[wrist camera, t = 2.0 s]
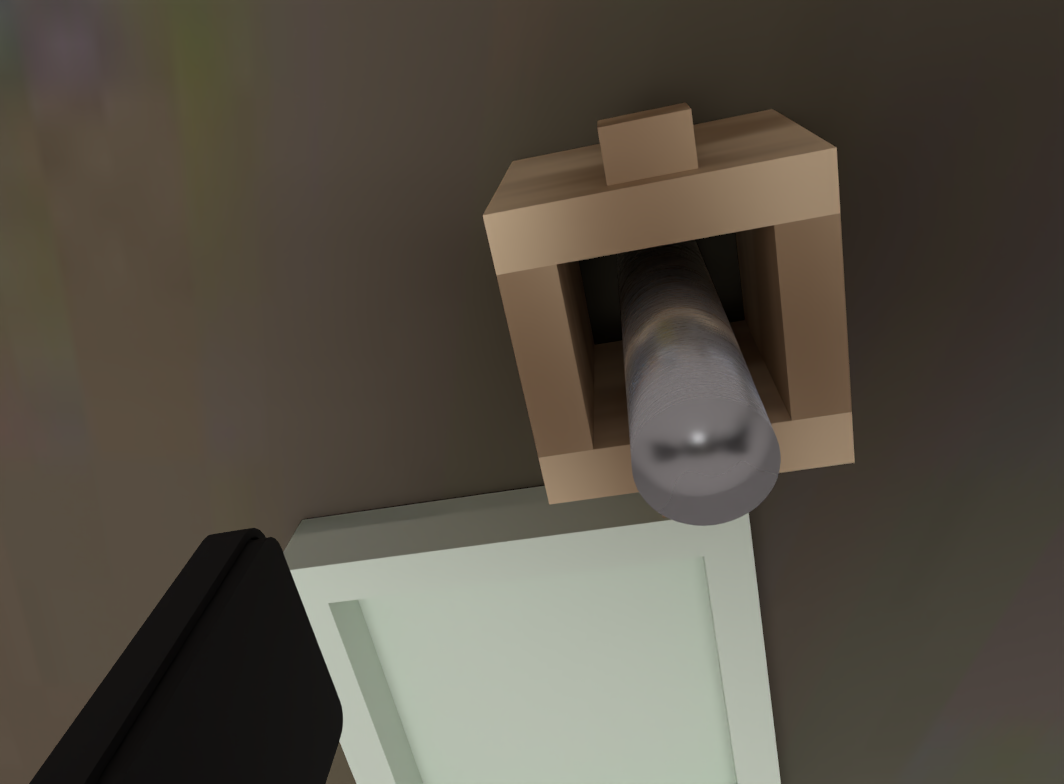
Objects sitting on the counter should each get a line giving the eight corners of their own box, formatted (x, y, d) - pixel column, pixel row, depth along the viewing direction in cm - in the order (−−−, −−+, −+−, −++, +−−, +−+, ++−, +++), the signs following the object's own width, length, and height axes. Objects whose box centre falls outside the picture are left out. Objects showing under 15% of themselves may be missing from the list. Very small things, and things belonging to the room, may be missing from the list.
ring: (768, 62, 18) (832, 84, 13) (796, 388, 22) (857, 506, 17) (503, 117, 19) (469, 157, 14) (567, 423, 23) (558, 545, 17)
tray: (733, 458, 23) (747, 509, 20) (773, 785, 28) (789, 855, 25) (302, 519, 24) (271, 572, 22) (412, 815, 29) (396, 883, 27)
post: (694, 213, 20) (774, 386, 11) (704, 292, 21) (786, 515, 12) (610, 228, 20) (620, 410, 11) (623, 306, 21) (642, 533, 12)
